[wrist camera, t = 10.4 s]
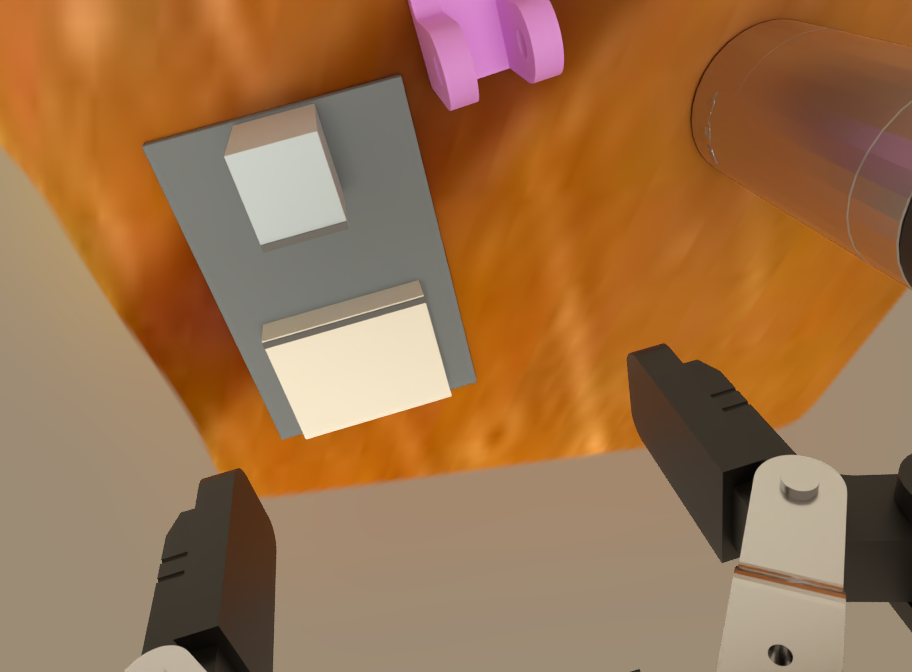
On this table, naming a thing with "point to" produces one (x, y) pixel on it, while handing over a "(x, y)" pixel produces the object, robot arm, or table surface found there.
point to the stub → (286, 178)
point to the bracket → (485, 43)
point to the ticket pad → (330, 270)
